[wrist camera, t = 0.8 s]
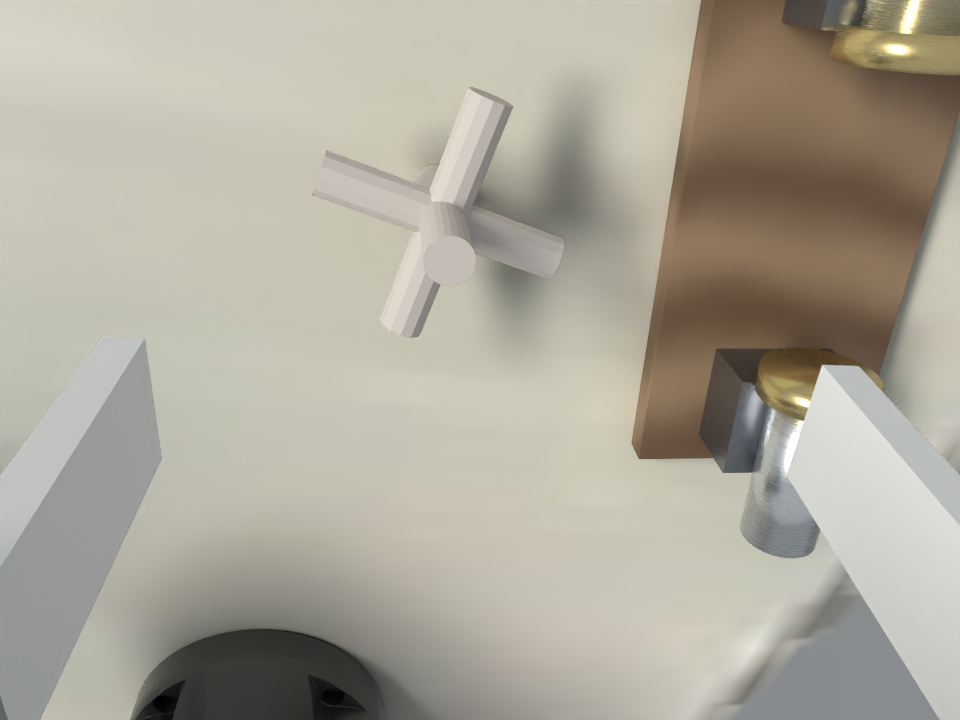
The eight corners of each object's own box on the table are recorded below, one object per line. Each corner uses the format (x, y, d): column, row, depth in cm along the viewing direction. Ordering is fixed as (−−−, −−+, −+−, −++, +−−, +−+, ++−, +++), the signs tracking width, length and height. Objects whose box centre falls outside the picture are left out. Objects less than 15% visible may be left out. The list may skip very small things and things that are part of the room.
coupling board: (840, 441, 46) (854, 456, 44) (631, 443, 44) (639, 458, 43) (1012, -145, 33) (1038, -149, 32) (727, -165, 32) (742, -170, 30)
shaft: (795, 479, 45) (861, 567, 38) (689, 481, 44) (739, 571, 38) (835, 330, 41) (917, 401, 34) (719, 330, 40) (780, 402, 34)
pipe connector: (581, 119, 36) (642, 177, 27) (494, 313, 40) (523, 419, 31) (365, 29, 34) (355, 61, 25) (295, 246, 38) (265, 340, 29)
